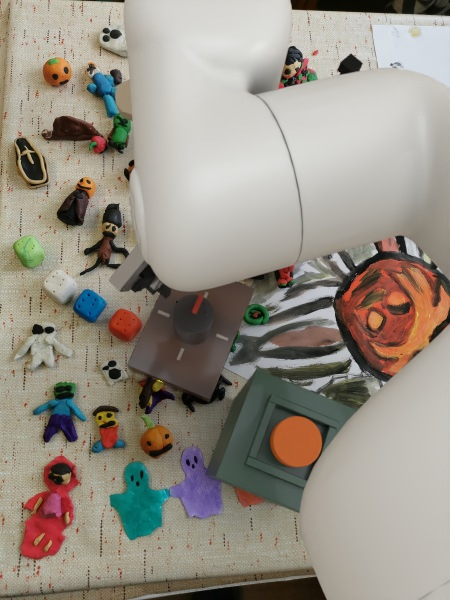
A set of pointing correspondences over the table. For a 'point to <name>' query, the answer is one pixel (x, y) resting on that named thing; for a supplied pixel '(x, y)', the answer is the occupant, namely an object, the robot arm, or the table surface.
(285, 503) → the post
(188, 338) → the knob
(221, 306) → the panel
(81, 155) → the table surface
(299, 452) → the button
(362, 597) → the robot arm
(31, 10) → the table surface
